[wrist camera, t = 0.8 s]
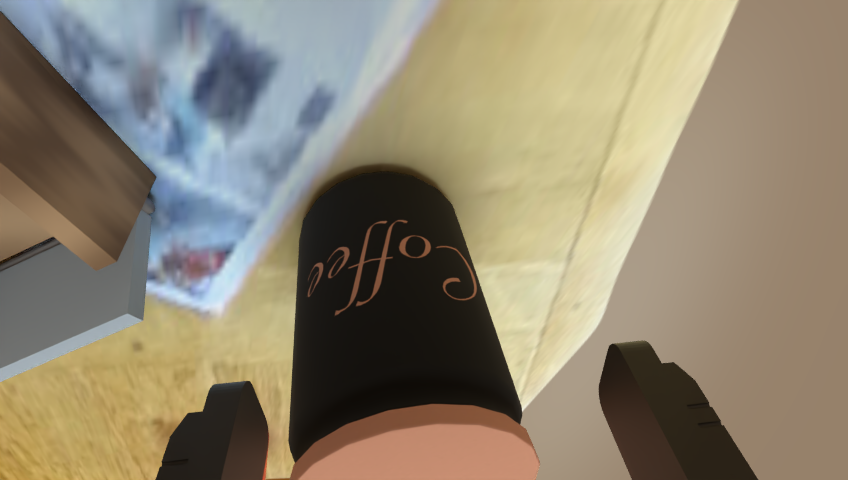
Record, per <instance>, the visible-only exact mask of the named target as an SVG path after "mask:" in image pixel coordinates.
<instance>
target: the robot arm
mask: <svg viewBox="0 0 848 480" xmlns="http://www.w3.org/2000/svg"><path fill="white" fill-rule="evenodd" d="M599 398H600V404H601V407H602V410H603V413H604V415H605V418H606V420H607V422H608V425H609V427H610V429H611V432H612V434H613V436H614V439H615V441H616V443H617V446H618V448H619V450H620V453H621V455H622V457H623V459H624V462H625V464H626V467H627V469H628V471H629V473H630V476H631V478H632V480H758V479H757V477H756V476H755V474H754V472H753V471H752V469H751V468H750V466H749V464H748V463H747V461H746V460H745V458H744V457H743V455H742V453H741V452H740V450H739V449H738V447H737V446H736V444H735V443H734V441H733V439H732V438H731V436H730V435H729V433H728V431H727V430H726V428H725V427H724V425H723V426H722V425H721V422H720V421H721V420H720V419H719V417H718V416H717V414H716V413H715V411H714V409H713V408H712V407H710V406H709V402H708V400H707V398H706V397H705V395H704V394H703V392H702V391H701V389H700V387H699V386H698V384H697V383H696V381H695V380H694V379H693V378H692V377H690V376H689V375H688V374H687V373H686V372H685V371H683V370H682V369H681V368H680V367H679V366H678V365H676V364H675V363H674V362H672V363H663V364H662V363H661V361H660V360H659V358H658V356H657V355H656V353H655V351H654V350H653V348H652V346H651V345H650V344H649V343H648V342H646V341H634V342H625V343H615V344H611V345H610V346H609V349H608V352H607V356H606V360H605V363H604V367H603V371H602V375H601V379H600V383H599ZM267 450H268V425H267V421H266V418H265V415H264V413H263V410H262V408H261V405H260V403H259V400H258V398H257V396H256V393H255V391H254V388H253V386H252V384H251V382H250V381H242V382H233V383H223V384H215V385H213V386H212V387H211V388H210V390H209V393H208V396H207V399H206V402H205V406H204V409H203V412H194V413H188V414H187V415H186V416H185V418H184V419H183V420H182V422H181V423H180V424H179V426H178V427H177V428H176V430H175V431H174V432H173V434H172V435H171V436H170V439H169V442H168V445H167V448H166V451H165V454H164V457H163V460H162V467H160V468H159V471H158V474H157V477H156V480H263V474H264V468H265V462H266V456H267Z"/></svg>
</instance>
